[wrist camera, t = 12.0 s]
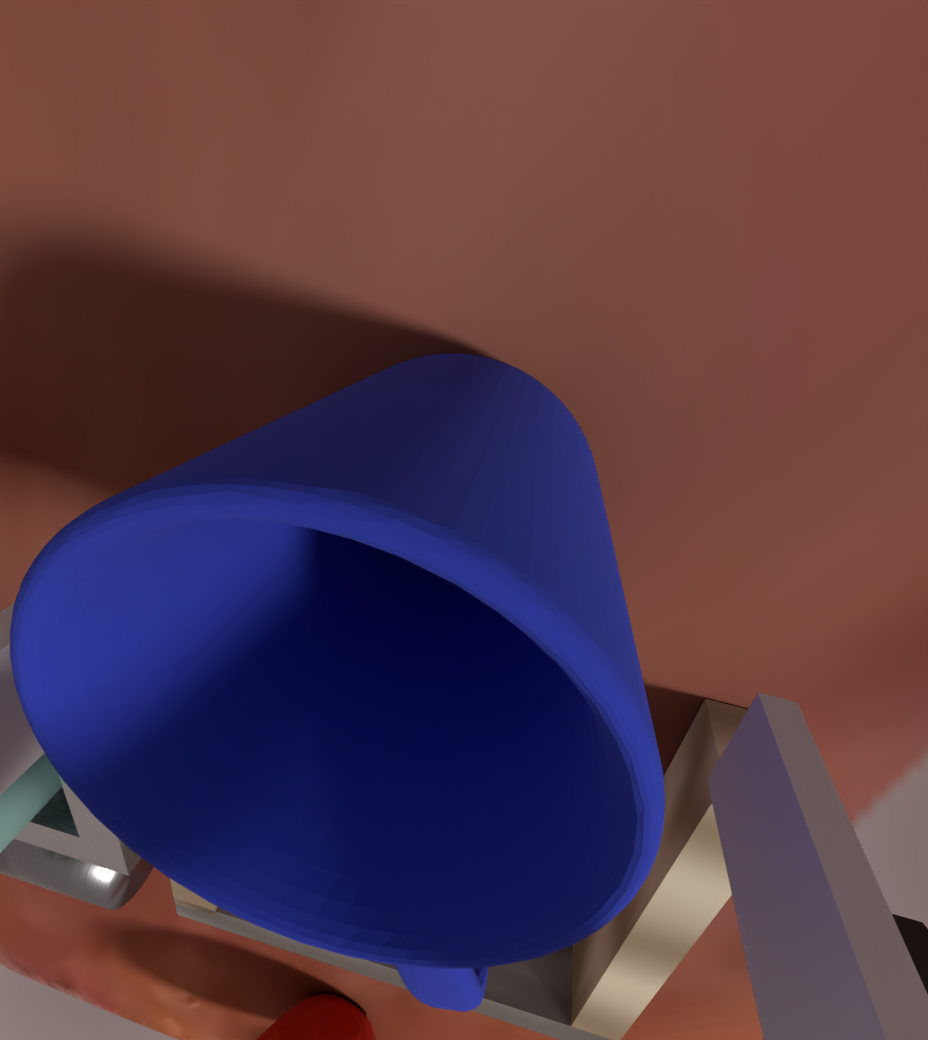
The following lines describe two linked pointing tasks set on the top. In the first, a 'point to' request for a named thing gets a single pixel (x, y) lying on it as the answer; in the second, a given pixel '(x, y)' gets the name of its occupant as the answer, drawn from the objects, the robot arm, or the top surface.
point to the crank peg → (26, 798)
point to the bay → (612, 949)
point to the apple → (321, 1021)
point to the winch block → (74, 855)
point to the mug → (363, 677)
